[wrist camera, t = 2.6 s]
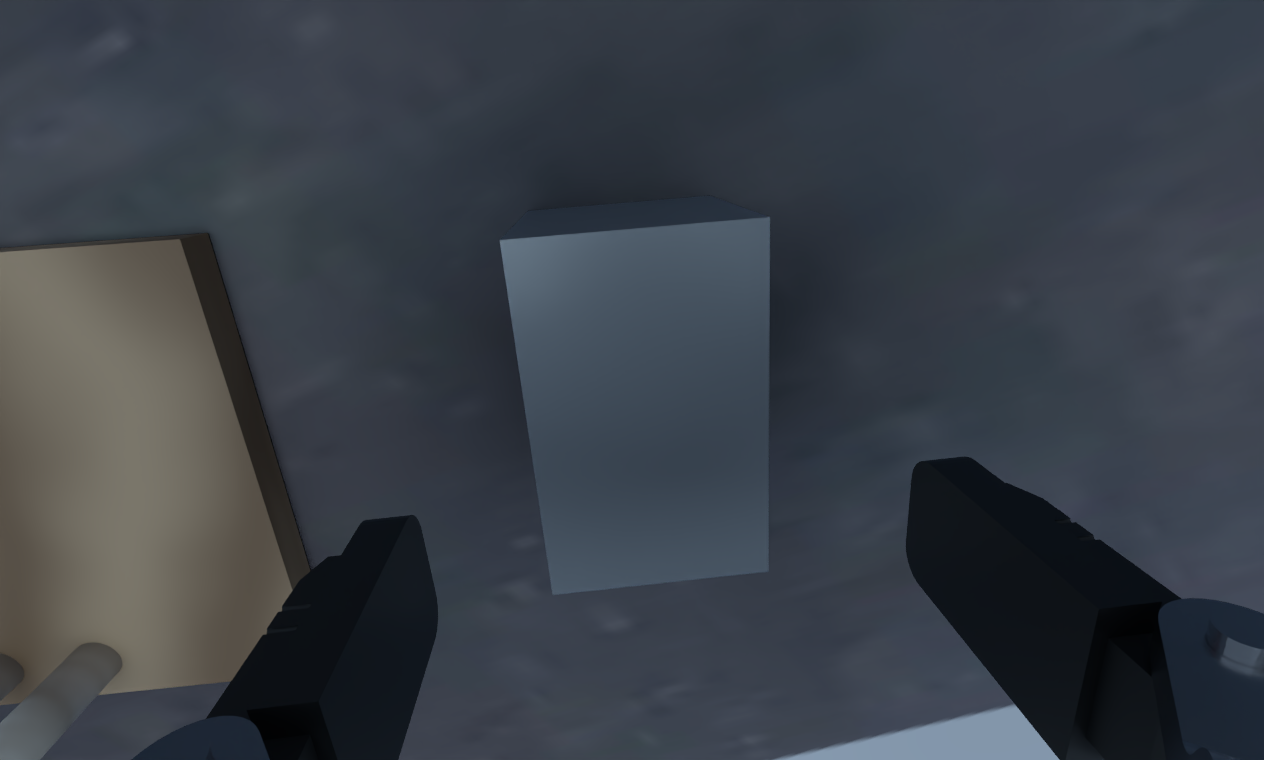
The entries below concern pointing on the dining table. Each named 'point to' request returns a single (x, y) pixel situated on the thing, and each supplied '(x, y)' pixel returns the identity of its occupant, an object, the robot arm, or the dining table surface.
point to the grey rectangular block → (645, 387)
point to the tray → (128, 482)
